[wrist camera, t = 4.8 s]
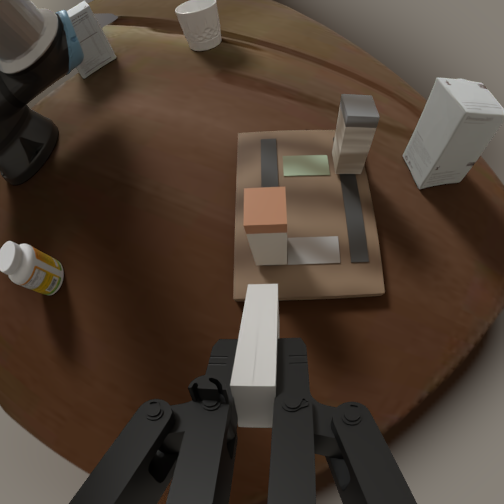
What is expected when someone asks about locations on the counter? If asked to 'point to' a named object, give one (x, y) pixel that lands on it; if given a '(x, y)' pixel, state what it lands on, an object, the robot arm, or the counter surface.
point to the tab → (266, 224)
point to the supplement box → (90, 40)
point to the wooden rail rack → (315, 207)
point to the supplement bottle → (31, 268)
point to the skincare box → (452, 131)
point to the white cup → (200, 23)
